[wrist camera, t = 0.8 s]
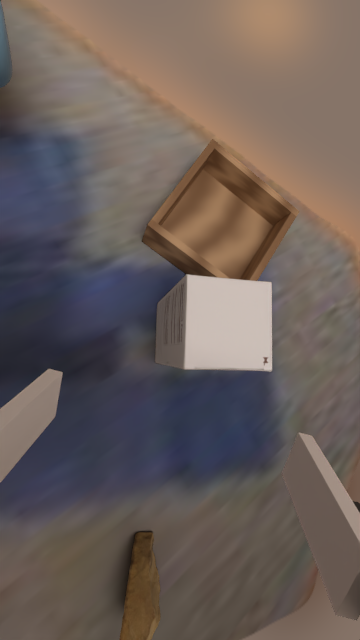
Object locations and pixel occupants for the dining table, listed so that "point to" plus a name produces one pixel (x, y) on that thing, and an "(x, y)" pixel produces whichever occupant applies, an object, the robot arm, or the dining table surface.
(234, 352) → the supplement box
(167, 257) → the oak crate
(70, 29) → the dining table surface
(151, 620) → the rock
